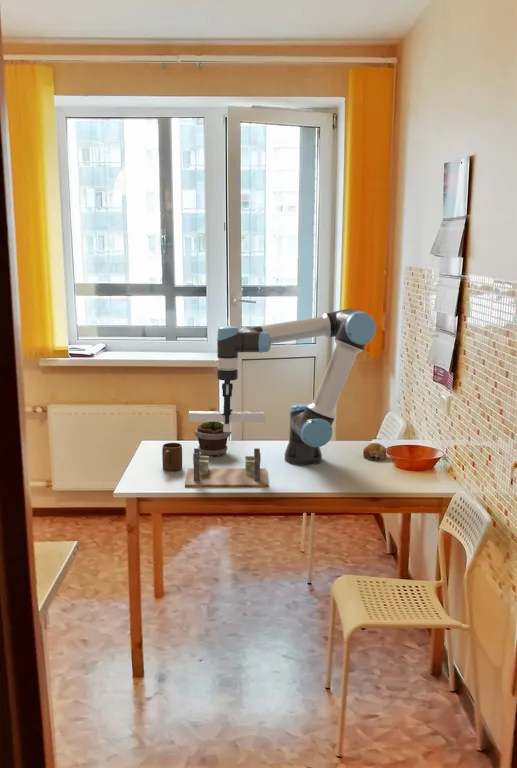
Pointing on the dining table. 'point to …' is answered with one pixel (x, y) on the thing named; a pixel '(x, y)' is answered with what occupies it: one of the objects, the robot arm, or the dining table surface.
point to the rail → (218, 417)
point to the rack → (226, 473)
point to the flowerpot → (212, 438)
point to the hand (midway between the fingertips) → (226, 430)
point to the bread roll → (374, 452)
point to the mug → (172, 456)
